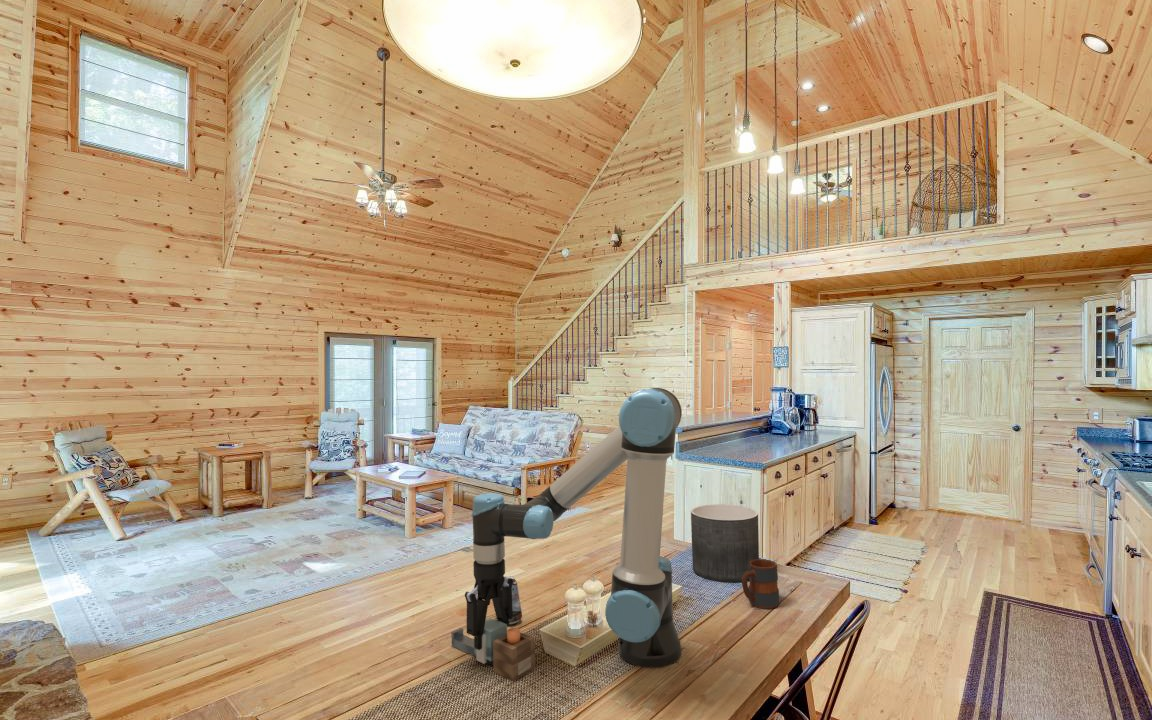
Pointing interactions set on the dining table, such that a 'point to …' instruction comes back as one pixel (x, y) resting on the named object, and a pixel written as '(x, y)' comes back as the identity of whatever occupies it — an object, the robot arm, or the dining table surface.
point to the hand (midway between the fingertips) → (491, 656)
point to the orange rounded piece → (513, 636)
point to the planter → (724, 541)
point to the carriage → (492, 635)
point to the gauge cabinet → (514, 657)
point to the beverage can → (515, 603)
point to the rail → (464, 643)
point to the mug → (762, 584)
